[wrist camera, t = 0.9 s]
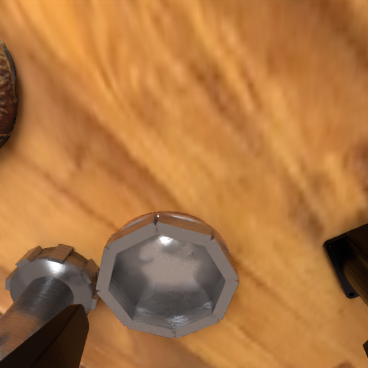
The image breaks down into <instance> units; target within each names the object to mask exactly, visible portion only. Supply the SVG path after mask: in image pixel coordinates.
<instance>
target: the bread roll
mask: <svg viewBox="0 0 368 368" xmlns="http://www.w3.org/2000/svg"><path fill="white" fill-rule="evenodd" d="M13 64H14V63H13V62H12V59H11V57H10V54H9V52H8V51H7V49H6V48H5V46H4V43H3V41H2V40H0V147H2V146H3V144H4V143H5V142H7V140H8V139H9V136H10V135H9V133H10V132H11V131H12V130H13V127H14V126H13V125H14V124H15V120H16V115H17V107H18V106H17V105H18V104H17V102H18V96H17V95H16V94H15V90H14V87H15V81H16V76H15V75H16V73H15V72H16V71H15V68H14V66H13ZM8 135H9V136H8Z"/></svg>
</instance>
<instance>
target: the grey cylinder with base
mask: <svg viewBox="0 0 368 368" xmlns="http://www.w3.org/2000/svg"><path fill="white" fill-rule="evenodd" d="M72 250H73V247H70V246H66V245H62V244H59V245H58V246H57V247H50V248H45V249H41V248H40V247H39V246H37V247H36V248H34V249H32V250H30V251H28V252H27V253H26V254H25V255H24V256H23V257H22V258H21V259H20V260H19V261H18V262H17V263H16V265H17V266H18V267H17V268H16V269H15V270H14V271H13V272H12V273H11V274H10V275H9V276H8V277H7V278H6V285H5V289H6V290H10V294H11V297H12V299H13V301H14V303H13V304H12V305H11V307H10V308H9V309H8V310H7V311H6V313H5V314H4V315H3V316H2V317H1V319H0V361H1V360H2V359H3V358H4V357H6V356H7V355H8V354H9V353H11V352H12V351H13V350H14V349H15V348H17V347H18V346H19V345H20V344H21V343H23V342H24V341H25V340H26V339H28V338H29V337H30V336H31V335H32V334H34V333H35V332H36V331H37V330H39V329H40V328H41V327H42V326H43V325H45V324H46V323H47V322H48V321H49V320H51V319H52V318H53V317H54V316H56V315H57V314H58V313H59V312H60V311H62V310H63V309H64V308H65V307H66V306H68V305H70V304H82V305H83V306H84V308H85V312H86V315H88V313H89V311H90V309H92V310H95V309H96V306H97V304H98V302H99V300H100V296H99V295H98V294H97V291H98V290H96V285H97V280H98V275H97V272H98V270H99V268H98V267H97V265H96V264H95V263H94V262H93V260H92V259H90V260H87V259H86V258H84V257H83V256H82V255H80V254H78V253H76V252H74V251H72Z"/></svg>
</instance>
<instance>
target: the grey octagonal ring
mask: <svg viewBox="0 0 368 368" xmlns="http://www.w3.org/2000/svg"><path fill="white" fill-rule="evenodd" d="M238 279H239V277H238V273H237V269H236V266H235V264H234V263H233V261H232V259H231V257H230V254H229V250H228V248H227V246H226V244H225V242H224V240H223V239H222V237H221V236H220V235H219V234H218V233H217V232H216V230H215V229H213V228H212V227H211V226H210V225H208V224H207V223H205V222H204V221H202V220H200V219H198V218H196V217H194V216H191V215H188V214H184V213H179V212H170V211H163V212H154V213H149V214H145V215H142V216H140V217H137V218H135V219H133V220H132V221H130V222H128V223H127V224H126V225H124V226H123V227H122V228H121V229H120V230H119V231H118V232H117V233H115V234H113V235H112V236H111V238H109V240H108V242H107V244H106V245H105V247H104V251H103V256H102V261H101V265H100V270H99V275H98V280H97V285H96V290H98V291H97V294H98V295H99V296H100V297H101V299H102V300H103V301H104V302H105V303H106V305H107V306H108V307H109V308H110V309H111V311H112V312H113V313H114V314H115V315H116V317H117V318H118V319H119V320H120V322H121V323H122V324H123V325H124V326H126V325H128V328H129V329H133V330H138V331H142V332H146V333H151V334H155V335H159V336H164V337H168V338H172V339H174V336H176V338H180V337H182V336H185V335H188V334H190V333H193V332H195V331H198V330H201V329H203V328H206V327H208V326H211V325H213V324H216V323H219V322H220V321H219V319H220V320H222V319H223V317H224V315H225V313H226V310H227V308H228V306H229V304H230V301H231V299H232V297H233V295H234V292H235V290H236V288H237V286H238V283H239V280H238Z"/></svg>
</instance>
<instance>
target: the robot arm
mask: <svg viewBox="0 0 368 368" xmlns="http://www.w3.org/2000/svg"><path fill="white" fill-rule="evenodd" d="M330 245H332V247H329V246H330ZM323 246H324V249H325V251H326V254H327V256H328V258H329V260H330V263H331V265H332V267H333V269H334V272H335V274H336V276H337V279H338V281H339V283H340V285H341V288H342V290H343V292H344V294H345V295H346V297H347V298H349V299H352V298H355V297H358V296H360V297H361V298H362V300H363V301H364V302H365V303H366V304H367V306H368V224H365V225H363V226H361V227H358V228H356V229H353V230H351V231H349V232H346V233H344V234H341V235H339V236H337V237H334V238H332V239H330V240H327V241H326V242H325V243H324V245H323ZM88 331H89V322H88V318H87V315H86V312H85V308H84V306H83V305H82V304H70V305H68V306H66V307H65V308H64V309H63V310H62V311H60V312H59V313H58V314H57V315H56V316H54V317H53V318H52V319H51V320H49V321H48V322H47V323H46V324H45V325H43V326H42V327H41V328H40V329H39V330H37V331H36V332H35V333H34V334H32V335H31V336H30V337H29V338H28V339H26V340H25V341H24V342H23V343H21V344H20V345H19V346H18V347H17V348H15V349H14V350H13V351H12V352H11V353H9V354H8V355H7V356H6V357H4V358H3V359H2V360H1V361H0V368H79V365H80V361H81V357H82V353H83V350H84V346H85V342H86V338H87V335H88ZM363 347H364V350H365V352H366V355H367V357H368V340H367V341H366V342H365V343H364V344H363Z"/></svg>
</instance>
